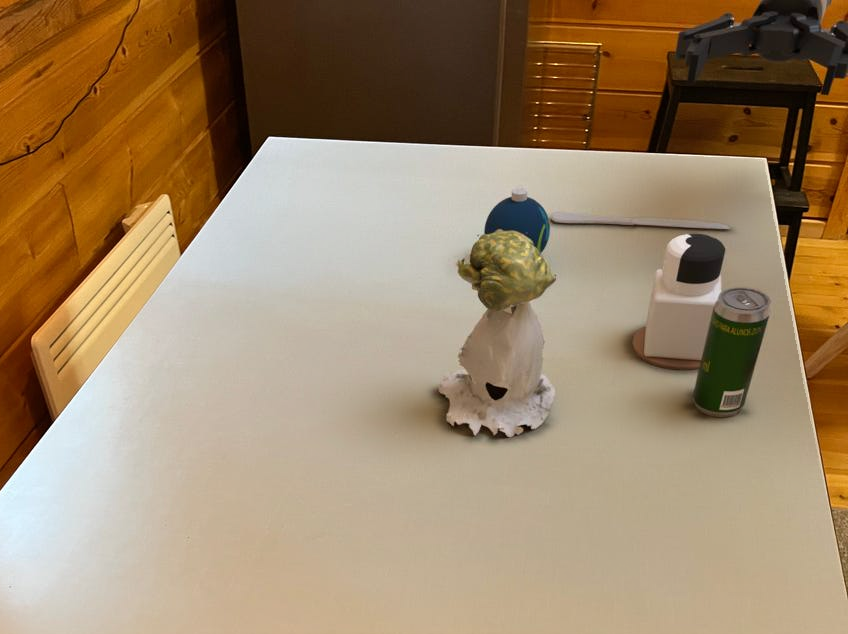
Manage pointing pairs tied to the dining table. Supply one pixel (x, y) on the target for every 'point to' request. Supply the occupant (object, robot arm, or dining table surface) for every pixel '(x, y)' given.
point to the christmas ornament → (520, 218)
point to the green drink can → (731, 351)
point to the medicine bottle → (684, 297)
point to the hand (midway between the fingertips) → (759, 74)
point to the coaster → (668, 363)
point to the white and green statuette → (502, 338)
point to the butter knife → (632, 221)
